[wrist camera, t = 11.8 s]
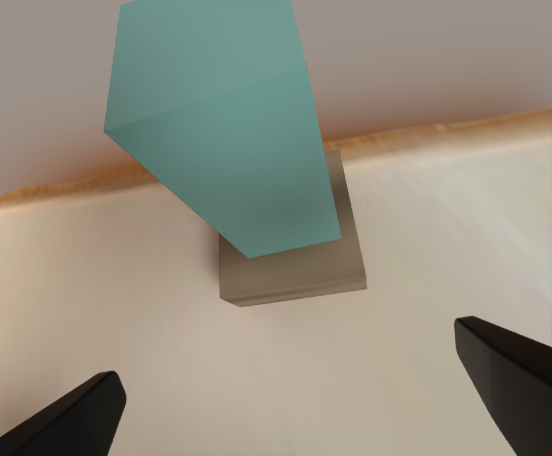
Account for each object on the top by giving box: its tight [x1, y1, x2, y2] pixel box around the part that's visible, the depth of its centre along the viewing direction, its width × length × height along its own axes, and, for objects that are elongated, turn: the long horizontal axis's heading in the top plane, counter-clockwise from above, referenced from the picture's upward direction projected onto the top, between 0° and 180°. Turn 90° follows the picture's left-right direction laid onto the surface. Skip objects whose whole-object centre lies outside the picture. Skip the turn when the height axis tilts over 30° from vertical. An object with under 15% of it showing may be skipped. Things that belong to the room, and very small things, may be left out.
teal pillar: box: [104, 0, 342, 259], centre depth 15 cm, size 6×6×12 cm
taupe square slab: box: [219, 149, 367, 307], centre depth 22 cm, size 9×9×4 cm
